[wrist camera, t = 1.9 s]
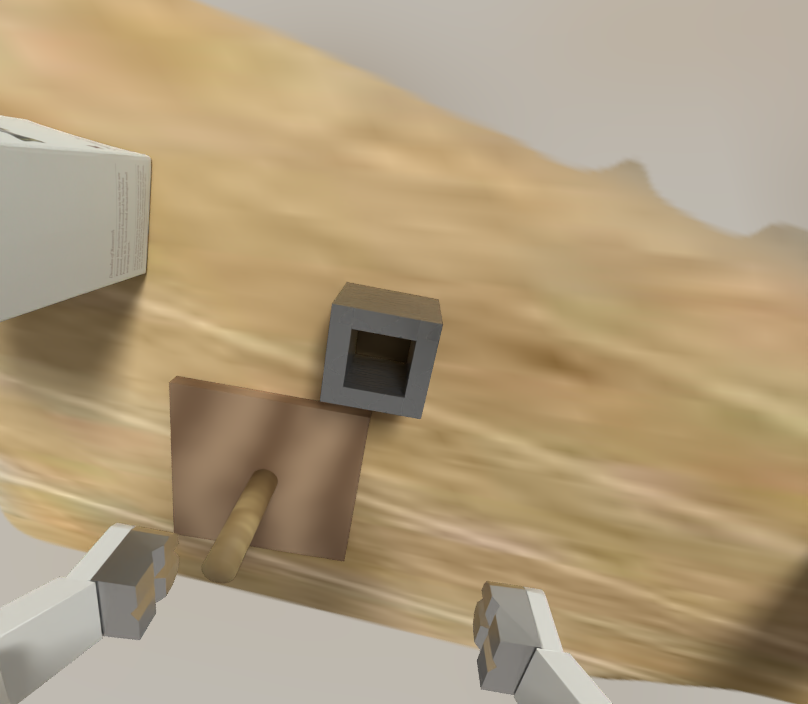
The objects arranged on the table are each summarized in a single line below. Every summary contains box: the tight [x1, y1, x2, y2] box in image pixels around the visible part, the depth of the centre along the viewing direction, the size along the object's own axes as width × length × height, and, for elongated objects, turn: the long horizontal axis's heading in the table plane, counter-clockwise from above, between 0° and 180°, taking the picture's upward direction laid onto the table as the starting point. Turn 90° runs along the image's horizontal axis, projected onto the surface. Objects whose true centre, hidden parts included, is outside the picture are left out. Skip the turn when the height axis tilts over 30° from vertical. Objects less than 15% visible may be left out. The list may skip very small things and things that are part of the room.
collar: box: [320, 282, 443, 419], centre depth 26 cm, size 6×6×5 cm
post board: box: [169, 376, 371, 583], centre depth 29 cm, size 14×14×9 cm
